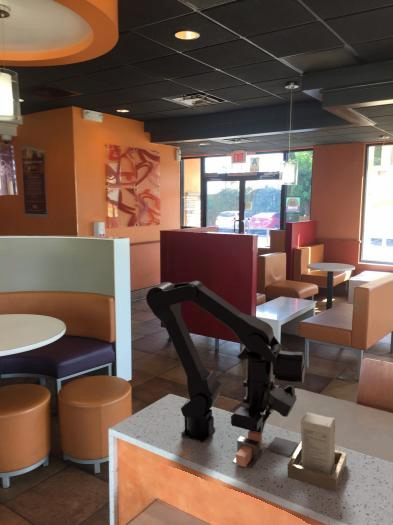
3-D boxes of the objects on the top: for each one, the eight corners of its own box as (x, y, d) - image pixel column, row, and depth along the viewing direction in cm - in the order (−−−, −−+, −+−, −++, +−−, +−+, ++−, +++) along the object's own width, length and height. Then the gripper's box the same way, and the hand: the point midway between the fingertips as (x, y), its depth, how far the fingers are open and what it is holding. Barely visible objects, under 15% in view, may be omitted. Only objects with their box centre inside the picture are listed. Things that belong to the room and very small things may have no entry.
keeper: (232, 462, 99) (232, 445, 99) (248, 442, 107) (249, 426, 106) (252, 468, 97) (252, 451, 96) (267, 447, 105) (267, 431, 104)
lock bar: (234, 463, 98) (234, 448, 97) (249, 443, 105) (249, 429, 105) (246, 467, 96) (246, 452, 96) (261, 447, 104) (261, 433, 103)
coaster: (267, 450, 104) (267, 448, 103) (275, 438, 108) (275, 436, 108) (290, 456, 101) (290, 455, 101) (297, 444, 106) (297, 442, 105)
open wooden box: (287, 477, 94) (287, 464, 93) (301, 452, 102) (301, 440, 102) (335, 492, 89) (336, 479, 88) (346, 465, 97) (346, 452, 97)
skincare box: (335, 470, 96) (337, 417, 94) (329, 481, 92) (331, 427, 90) (305, 461, 99) (306, 410, 97) (299, 472, 95) (300, 419, 93)
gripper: (279, 401, 91) (277, 470, 94) (304, 368, 107) (302, 427, 110) (229, 390, 97) (230, 455, 99) (260, 360, 113) (260, 417, 115)
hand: (258, 438), depth 106 cm, fingers closed
